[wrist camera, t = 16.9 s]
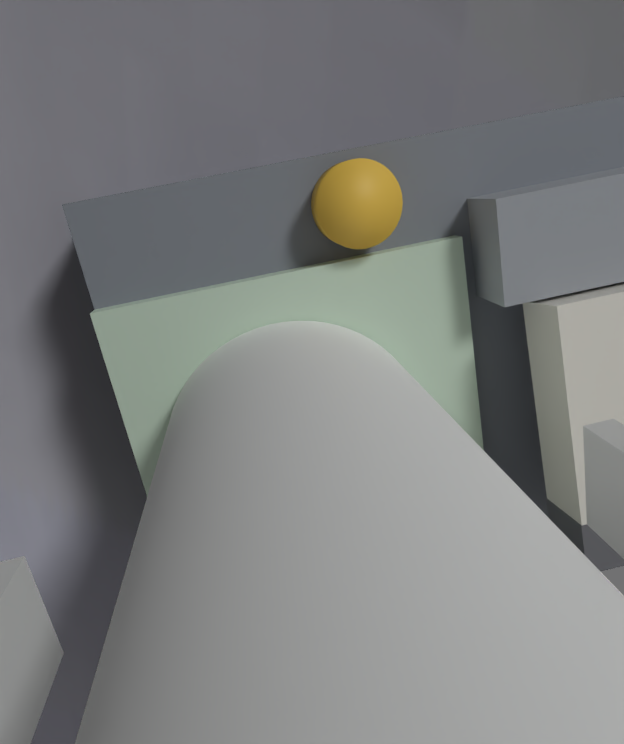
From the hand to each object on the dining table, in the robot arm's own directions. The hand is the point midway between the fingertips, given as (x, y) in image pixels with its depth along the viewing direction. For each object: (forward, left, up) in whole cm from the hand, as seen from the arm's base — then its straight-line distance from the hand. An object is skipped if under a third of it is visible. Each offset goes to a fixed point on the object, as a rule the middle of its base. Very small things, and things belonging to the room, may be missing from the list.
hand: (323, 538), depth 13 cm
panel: (-1, +6, -10) cm, 12 cm away
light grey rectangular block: (-3, +9, -4) cm, 11 cm away
